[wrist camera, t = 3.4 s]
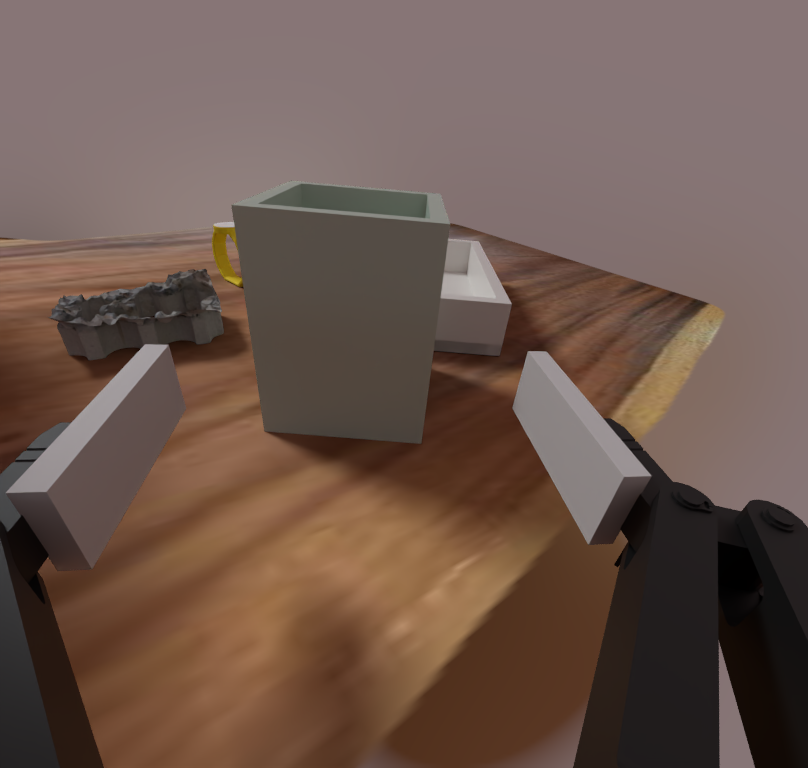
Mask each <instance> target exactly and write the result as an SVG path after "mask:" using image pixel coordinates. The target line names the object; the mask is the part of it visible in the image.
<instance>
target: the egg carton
mask: <svg viewBox="0 0 808 768" xmlns="http://www.w3.org/2000/svg"><path fill="white" fill-rule="evenodd" d="M220 312H222V310H221V307H220V300H219V298H218V296H217V294H216V292H215V290H214V288H213V286H212V282H211V279H210V277H209V275H208V274H207V270H206V269H202V270H197V271H195V270H194V269H193V270H188V271H187V272H180V271H179V272H178V273H175V274H173V275H168V278H167V280H166V282H165V283H154V282H148V283H147V285H146V286H144V287H139V288H135V289H132V290H129V289H119V290H115V291H111V292H107V293H103V294H101V295H99V296H91V297H89V298H88V299H86V300H85V299H84V297H83V296H82V294H81V295H79V296H68V297H66V296H63V298H60V299H59V304H57V306H55V309H52V316H51V317H49V318H51V319H53V320H56V321H58V322H59V323H58V325H57V328H58V330H59V332H60V334H61V337H62V339H63V341H64V344H65V346H66V348H67V351H68V353H69V355H81V356H85V357H87V358H88V360H96V359H102V358H106V357H107V355H108V354H110V353H111V352H113V351H115V350H118V349H122V348H130V347H136V348H140V349H141V348H142V347H143V346H144V345H145V344H153V345H166V344H168V343H170V342H174V341H179V340H189V341H193V342H195V343H196V344H205V343H210V342H211V340H212V339H213V338H214V337H216V336H218V335H221V334H223V333H224V329H223V323H222V319H221V313H220ZM150 316H155V318H154V317H150ZM144 317H148V318H144Z"/></svg>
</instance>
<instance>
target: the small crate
mask: <svg viewBox="0 0 808 768" xmlns="http://www.w3.org/2000/svg"><path fill="white" fill-rule="evenodd" d="M232 212H233V219H234V226H235V233H236V240H237V247H238V253H239V260H240V267H241V274H242V281H243V288H244V295H245V301H246V308H247V315H248V322H249V329H250V336H251V343H252V349H253V356H254V363H255V370H256V377H257V384H258V391H259V397H260V404H261V411H262V418H263V425H264V431H266V432H279V433H292V434H304V435H317V436H330V437H342V438H355V439H367V440H380V441H393V442H405V443H418V444H421V443H422V435H423V428H424V420H425V412H426V405H427V397H428V390H429V382H430V374H431V367H432V359H433V352H434V344H435V336H436V329H437V321H438V314H439V306H440V298H441V291H442V283H443V276H444V268H445V260H446V253H447V245H448V238H449V230H450V222H449V219H448V216H447V213H446V210H445V207H444V204H443V200H442V197H441V195H440V194H435V193H423V192H412V191H401V190H390V189H378V188H367V187H356V186H344V185H333V184H321V183H310V182H298V181H289V182H287V183H284V184H282V185H279V186H277V187H274V188H272V189H269V190H267V191H265V192H262V193H260V194H257V195H255V196H252V197H250V198H247V199H245V200H243V201H240V202H238V203H235V204H233V205H232Z"/></svg>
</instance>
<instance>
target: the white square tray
mask: <svg viewBox="0 0 808 768" xmlns="http://www.w3.org/2000/svg"><path fill="white" fill-rule="evenodd" d="M511 306H512V303H511V302H510V300H509V298H508V296H507V294H506V292H505V290H504V288H503V286H502V285H501V283H500V281H499V279H498V277H497V275H496V273H495V271H494V270H493V268H492V266H491V264H490V262H489V260H488V258H487V256H486V254H485V253H484V251H483V249H482V247H481V245H480V243H479V241H468V240H456V239H448V245H447V253H446V260H445V268H444V276H443V283H442V291H441V298H440V306H439V314H438V321H437V329H436V336H435V344H434V351H443V352H455V353H467V354H479V355H491V356H500V353H501V349H502V344H503V340H504V336H505V332H506V327H507V323H508V319H509V314H510V310H511Z"/></svg>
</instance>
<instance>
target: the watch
mask: <svg viewBox="0 0 808 768" xmlns="http://www.w3.org/2000/svg"><path fill="white" fill-rule="evenodd" d="M213 227H214V232H213V237H212V248H213V255H214V258H215V261H216V264H217V267H218V269H219V271H220V273H221V275H222V276H223V278H224V279H225V281H226V280H227V281H229V282H231V283H233V284H235V285H236V286H238V287H243V281H242V278H241V277H239V276H237V275H236V274H235V272H234V270H233V269H232V267H231V264H230V261H229V259H228V256H227V250H226V236H227V234H229V236H230V237H231V238H232V240H233V241H234V242H235V245H236V247H237V240H236V233H235V226H234V222H221V223H216V224H214V225H213ZM237 250H238V247H237Z"/></svg>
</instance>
